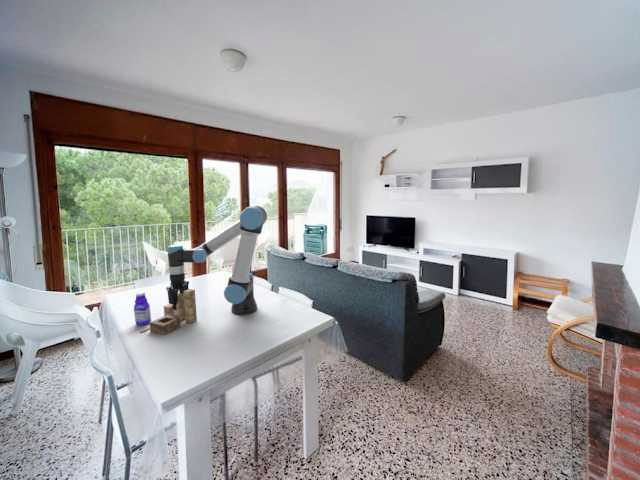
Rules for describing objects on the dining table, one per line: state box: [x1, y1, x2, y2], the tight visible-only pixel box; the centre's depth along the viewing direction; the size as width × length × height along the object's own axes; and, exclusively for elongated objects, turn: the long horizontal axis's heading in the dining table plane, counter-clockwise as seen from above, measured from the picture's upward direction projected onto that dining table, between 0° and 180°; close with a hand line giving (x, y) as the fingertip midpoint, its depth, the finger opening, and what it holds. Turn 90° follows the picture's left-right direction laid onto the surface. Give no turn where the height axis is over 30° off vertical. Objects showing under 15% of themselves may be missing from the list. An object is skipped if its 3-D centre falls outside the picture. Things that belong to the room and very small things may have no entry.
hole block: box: [149, 315, 182, 336], centre depth 149 cm, size 10×10×5 cm
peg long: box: [184, 288, 198, 324], centre depth 157 cm, size 4×4×18 cm
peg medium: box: [175, 292, 186, 322], centre depth 160 cm, size 4×4×15 cm
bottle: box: [133, 291, 152, 326], centre depth 154 cm, size 7×6×17 cm
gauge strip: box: [139, 326, 150, 334], centre depth 152 cm, size 15×2×1 cm, turn 158°
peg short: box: [163, 303, 175, 317], centre depth 164 cm, size 4×4×7 cm
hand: (180, 313), depth 161 cm, fingers closed on peg medium, 4 cm apart
